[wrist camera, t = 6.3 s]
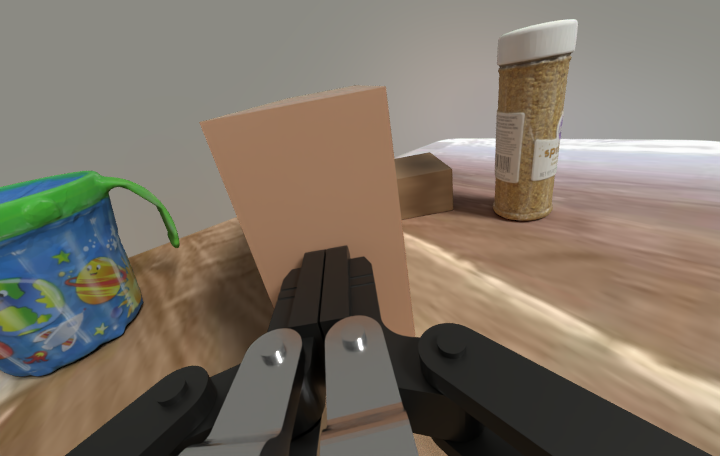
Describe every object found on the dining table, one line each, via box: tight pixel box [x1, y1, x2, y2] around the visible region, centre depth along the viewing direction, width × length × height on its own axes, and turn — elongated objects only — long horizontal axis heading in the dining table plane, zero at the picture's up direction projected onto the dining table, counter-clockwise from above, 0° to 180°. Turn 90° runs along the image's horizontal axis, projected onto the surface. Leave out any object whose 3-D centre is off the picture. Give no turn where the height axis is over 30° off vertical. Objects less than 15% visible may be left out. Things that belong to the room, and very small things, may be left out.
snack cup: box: [0, 171, 179, 376], centre depth 18 cm, size 16×10×10 cm
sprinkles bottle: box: [493, 19, 578, 221], centre depth 22 cm, size 5×5×13 cm
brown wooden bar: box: [394, 152, 453, 220], centre depth 30 cm, size 18×7×4 cm, turn 94°
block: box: [200, 85, 415, 337], centre depth 18 cm, size 5×16×12 cm, turn 4°
